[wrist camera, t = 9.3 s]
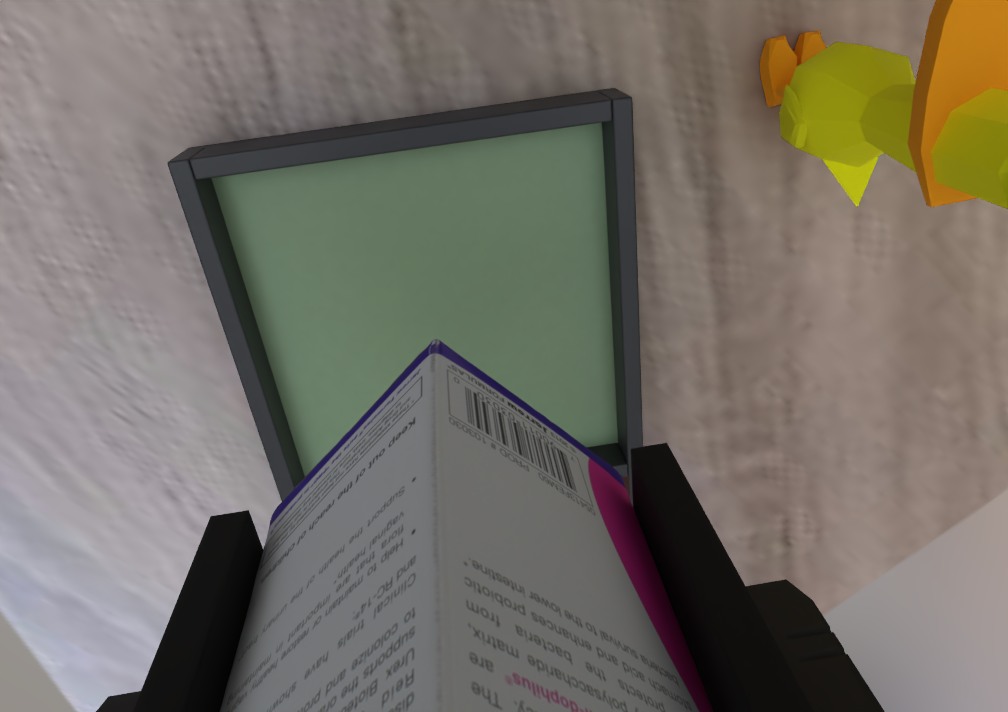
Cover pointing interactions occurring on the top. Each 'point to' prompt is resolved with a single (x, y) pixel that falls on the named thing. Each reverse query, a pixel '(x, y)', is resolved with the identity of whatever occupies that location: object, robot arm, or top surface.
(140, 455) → the top surface
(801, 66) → the toy figure
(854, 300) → the top surface
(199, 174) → the tray
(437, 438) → the supplement box
